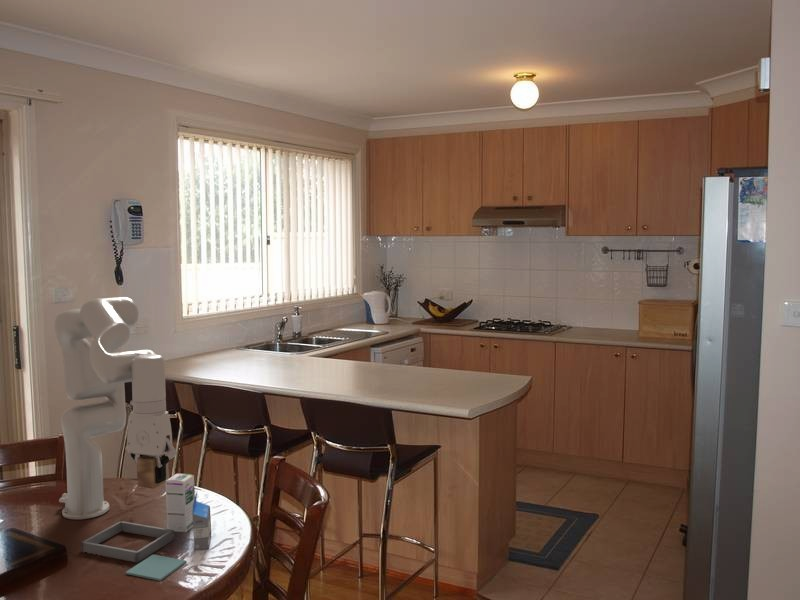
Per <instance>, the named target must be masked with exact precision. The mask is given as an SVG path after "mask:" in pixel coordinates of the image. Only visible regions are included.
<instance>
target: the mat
mask: <svg viewBox="0 0 800 600" xmlns="http://www.w3.org/2000/svg"><path fill="white" fill-rule="evenodd" d="M186 564H187V560H186V559H181V558H180V559H179V558H175V557H169V556H163V555H159V554H153V553H152V554H150V555H149V556H147V557H146V558H144V559H142V560H141V561H139V562H138V563H137V564H136V565H134V566H133V567H131V568H129V569H128V570H127V571H125V575H130V576H135V577H138V578H139V577H140V578H144V579H148V580H149V579H150V580H154V581H159V582H161V581H162V580H163V579H165V578H167V577H168V576H170V575H171V574H172V573H174V572H176V571H177V570H178V569H180V568H182V566H183V565H186Z"/></svg>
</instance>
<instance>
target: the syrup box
mask: <svg viewBox="0 0 800 600" xmlns="http://www.w3.org/2000/svg"><path fill="white" fill-rule="evenodd" d="M164 485H165V503H166V505H165V506H166V507H165V508H166V526H167V527H166V529H170V530H174V533H184V534H185V533H188V531H189V530H191V529H193V516H192V506H193V501H194V498H195V495H196V490H195V475H194V474H190V473H175V474H174V475H173V476H171V477H169V478H168V479H166V483H164ZM194 503H195V502H194Z"/></svg>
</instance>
